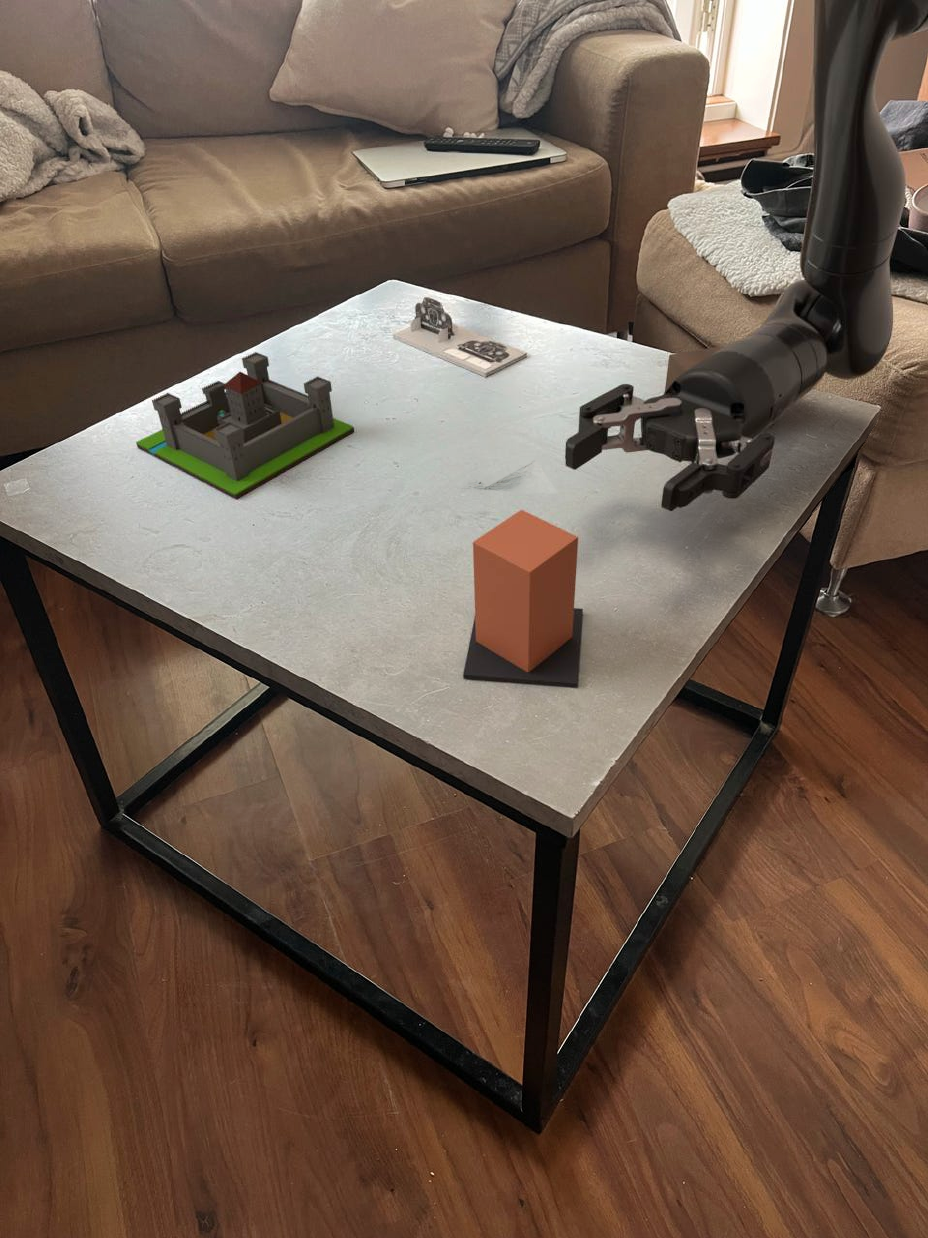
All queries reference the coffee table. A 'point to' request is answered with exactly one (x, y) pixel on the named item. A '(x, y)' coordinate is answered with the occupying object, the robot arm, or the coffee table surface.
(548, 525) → the top block
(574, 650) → the felt mat
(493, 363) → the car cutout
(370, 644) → the coffee table surface
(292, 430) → the castle model
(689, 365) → the base block
